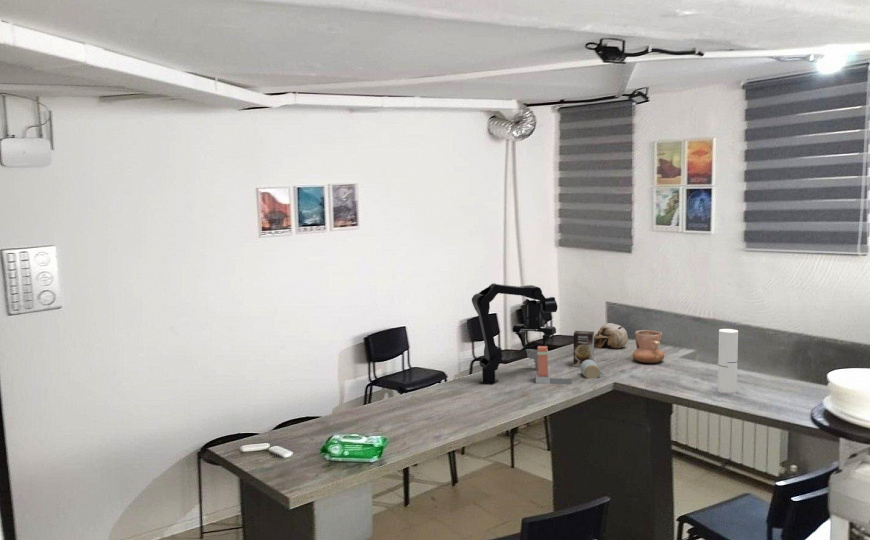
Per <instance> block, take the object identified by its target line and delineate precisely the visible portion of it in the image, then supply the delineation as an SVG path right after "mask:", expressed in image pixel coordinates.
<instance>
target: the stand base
mask: <svg viewBox="0 0 870 540" xmlns="http://www.w3.org/2000/svg"><path fill="white" fill-rule="evenodd" d="M551 374H552V372H551V371H548V376H538V371H536V373H535V377H534V380H533V384H545V385H547V384H548V385H549V384H550V385H572V379H573V378H552V377H551Z"/></svg>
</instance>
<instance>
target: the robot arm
mask: <svg viewBox="0 0 870 540" xmlns="http://www.w3.org/2000/svg"><path fill="white" fill-rule="evenodd" d="M498 294H500V295H510V296H511V295H512V296H513V295H514V296H522V297H525V300H524V301H523V302H522V304H523V305H525V306H527V308H526V309H527V310H526V311H527V312H526V313H527V316H526V317H525V318H526V320H527V325H526V324H524V323H517V324H514V325H513V326H512V333H514V334H515V335H517V336H518V338H519V340H520V342H521V344H522V346H523V348H526V341H527V340H526V332H537V333H543V335H542V346H547V344H548V341H549V339H550V337H552V336H553V335H554V334H556V333H557V329H556V327H555V326H551V325H547V326H546V320H545V319H544V318H543V317H542V314H546V313H548V314H549V313H556V312H557V311H558V304H557V301H556V297H554V296H550V297H545V295H544V294H543V291H542V289H541V287H539V286H536V285H532V284H530V285H529V284H528V285H521V286H517V285H510V284H509V285H507V284H506V285H505V284H498V283H495V282H494V283H491V284H489V286H488V287H485V288H484V289H482V290H481V291H479V292H478V293H475V294H474V295H473V296H472V298H471V303H472V305H473V308H474V310H475V312H476V313H477V317H478V319H479V323H480V329H481V334H482V338H483V342H484V348H483V358H481V360H479V363H478V364H479V367H481V368H482V371H481V372H482V374H481V375H482V379H481V380H479V383H480V384H486V385H494V384H495V383H498V382H499V379H496V371H498V369H499V365H500V364H501V362H502V361H503V359H502V358H503V357H504V356H503V355H502V349H501V347H499V346H497V345H496V342H495V338H494V333H493V328H492V324H491V323H492V322H491V319H490V314H489V313H490V307H491V306H490V303H491V302H492V301H494V299H495V298H496V296H497V295H498ZM541 312H542V314H541Z"/></svg>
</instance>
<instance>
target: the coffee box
mask: <svg viewBox="0 0 870 540" xmlns="http://www.w3.org/2000/svg"><path fill="white" fill-rule="evenodd" d="M594 336H595V331H589V330H588V331H587V330H586V331H585V330H574V332H573V363H572V364H573V365H572V367H575V368H580V366H581V364H582V362H583V361H585V360H593V361H594V362H595V360H594V359H595V355H594V354H595V346H594Z"/></svg>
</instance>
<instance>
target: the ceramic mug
mask: <svg viewBox="0 0 870 540" xmlns="http://www.w3.org/2000/svg"><path fill="white" fill-rule="evenodd" d="M579 368H580V372H581V374H582V375H583V376H584V378H586V379H598V378H606V377H607V374H605V373H604V372H603V371H602V370H601V369H600V367H599V366H598V364H597V363H596V362H595V360H594V361H593V360H585V361H583V362H582V364H581V366H580V367H579Z"/></svg>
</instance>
